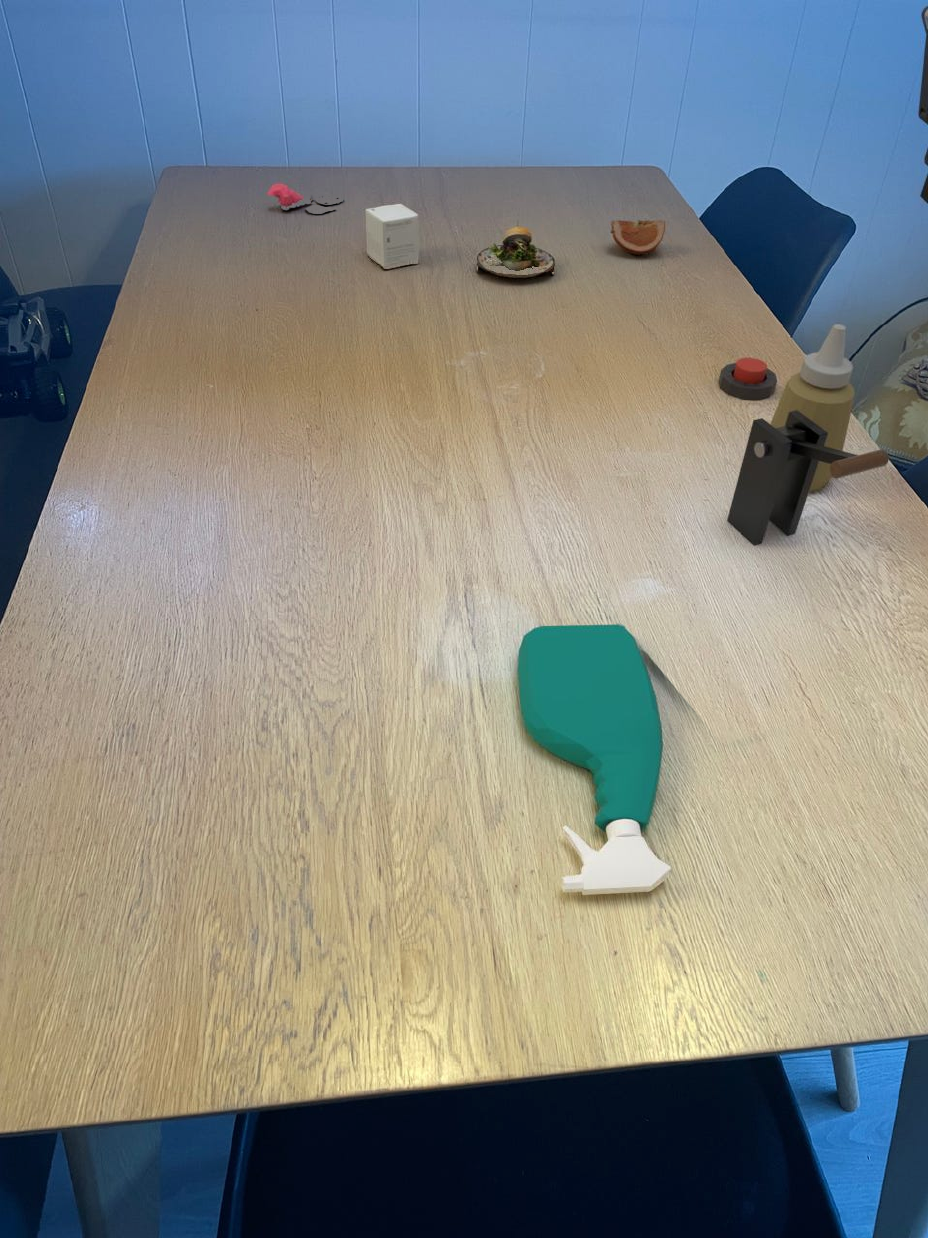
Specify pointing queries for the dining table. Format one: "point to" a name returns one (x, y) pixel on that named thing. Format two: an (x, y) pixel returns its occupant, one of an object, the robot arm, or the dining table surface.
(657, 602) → the dining table surface
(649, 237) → the fruit slice
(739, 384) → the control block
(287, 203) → the pink fuzzy curved piece
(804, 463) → the bracket
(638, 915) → the dining table surface
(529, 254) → the burger
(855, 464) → the lever
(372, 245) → the product box
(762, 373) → the button
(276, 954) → the dining table surface
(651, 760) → the spray bottle
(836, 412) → the squeeze bottle
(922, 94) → the robot arm
